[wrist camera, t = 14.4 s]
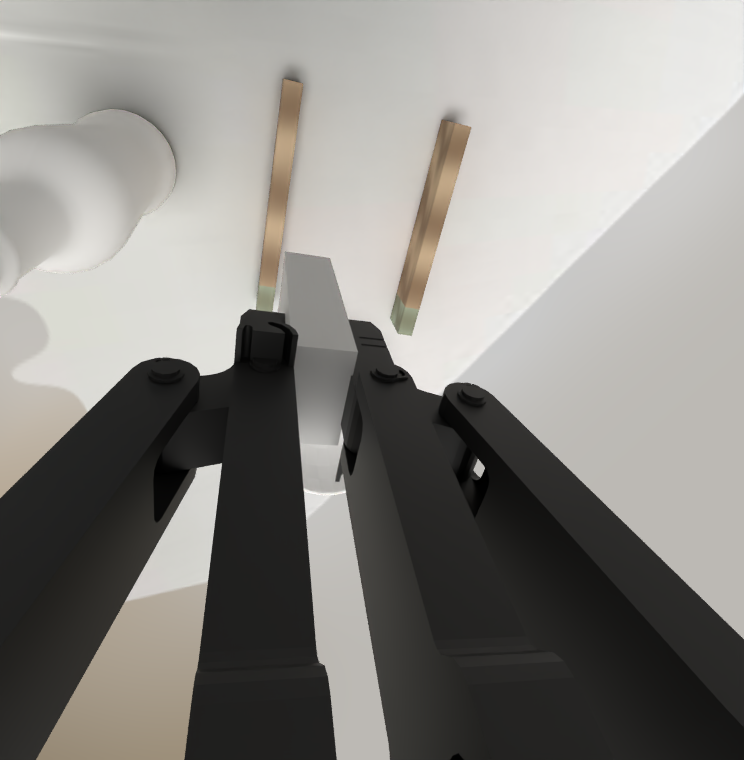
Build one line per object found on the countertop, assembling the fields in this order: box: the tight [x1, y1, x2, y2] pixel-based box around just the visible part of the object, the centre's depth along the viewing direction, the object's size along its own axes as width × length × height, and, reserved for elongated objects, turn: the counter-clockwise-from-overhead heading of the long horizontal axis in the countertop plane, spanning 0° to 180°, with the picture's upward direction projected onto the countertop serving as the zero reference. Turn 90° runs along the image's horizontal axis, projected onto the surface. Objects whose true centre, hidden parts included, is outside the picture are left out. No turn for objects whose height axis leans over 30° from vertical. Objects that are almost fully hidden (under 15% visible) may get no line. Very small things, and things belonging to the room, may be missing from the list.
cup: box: [300, 429, 346, 495], centre depth 51 cm, size 11×11×15 cm
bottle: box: [0, 109, 176, 298], centre depth 31 cm, size 8×8×30 cm
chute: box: [256, 79, 471, 336], centre depth 47 cm, size 20×16×4 cm
